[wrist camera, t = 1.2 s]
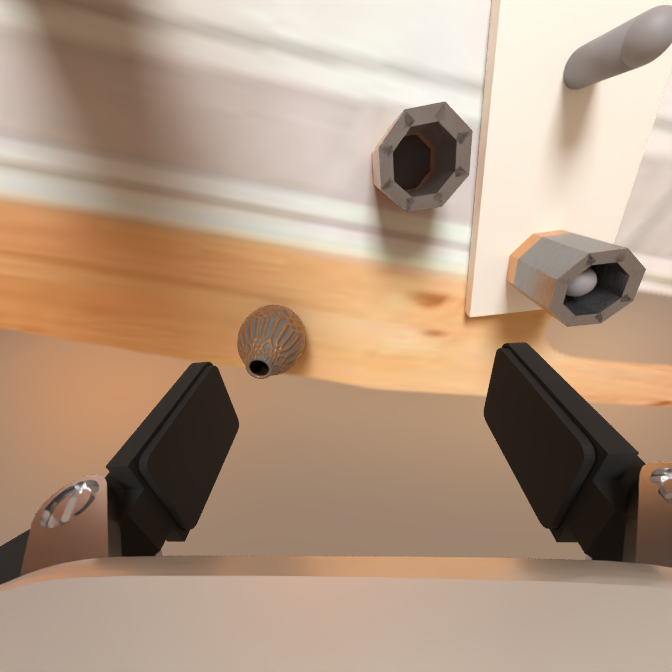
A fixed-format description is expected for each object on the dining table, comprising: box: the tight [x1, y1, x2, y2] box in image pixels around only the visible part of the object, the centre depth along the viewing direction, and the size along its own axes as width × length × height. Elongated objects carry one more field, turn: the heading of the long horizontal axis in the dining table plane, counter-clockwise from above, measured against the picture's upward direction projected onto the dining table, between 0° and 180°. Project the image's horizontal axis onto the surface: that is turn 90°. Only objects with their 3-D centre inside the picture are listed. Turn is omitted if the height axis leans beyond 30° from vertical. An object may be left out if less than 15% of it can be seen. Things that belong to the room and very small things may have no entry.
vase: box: [237, 305, 305, 379], centre depth 29 cm, size 7×7×9 cm
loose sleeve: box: [372, 102, 472, 212], centre depth 21 cm, size 6×6×7 cm
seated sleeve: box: [506, 230, 646, 327], centre depth 24 cm, size 6×6×7 cm
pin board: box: [465, 0, 672, 317], centre depth 21 cm, size 24×12×8 cm, turn 9°
